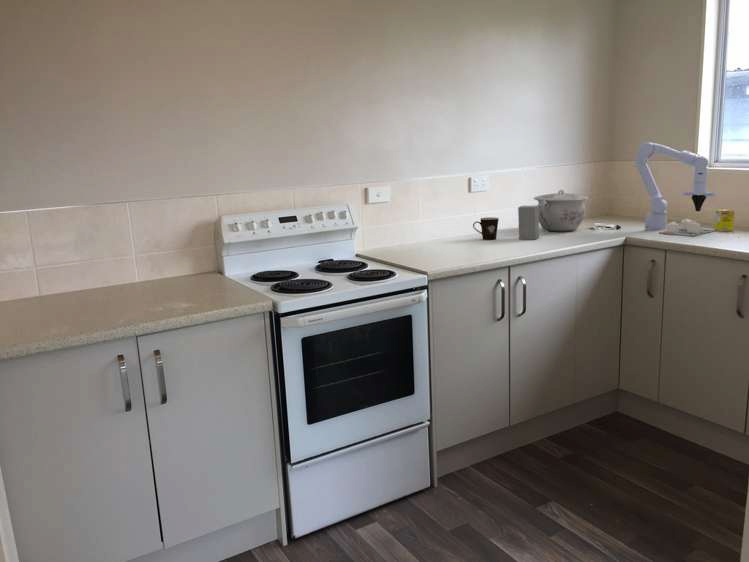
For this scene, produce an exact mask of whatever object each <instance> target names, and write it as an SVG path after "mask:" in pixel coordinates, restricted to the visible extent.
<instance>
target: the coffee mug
mask: <svg viewBox="0 0 749 562" xmlns="http://www.w3.org/2000/svg"><path fill="white" fill-rule="evenodd" d="M499 219H500V218H499V217H493V216H491V217H489V216H488V217H487V216H486V217H481V218H480V221H474V222H473V223H472V224H473V225H472V227H473V229H474V230H475V231H476V232H478V233H480V234H481V236H482V240H483V241H495V240H497V234H498V226H499ZM477 223H478V224H479V225H480V228H481V231H480V230H478V229H477V228H476V226H475V225H476V224H477Z"/></svg>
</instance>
